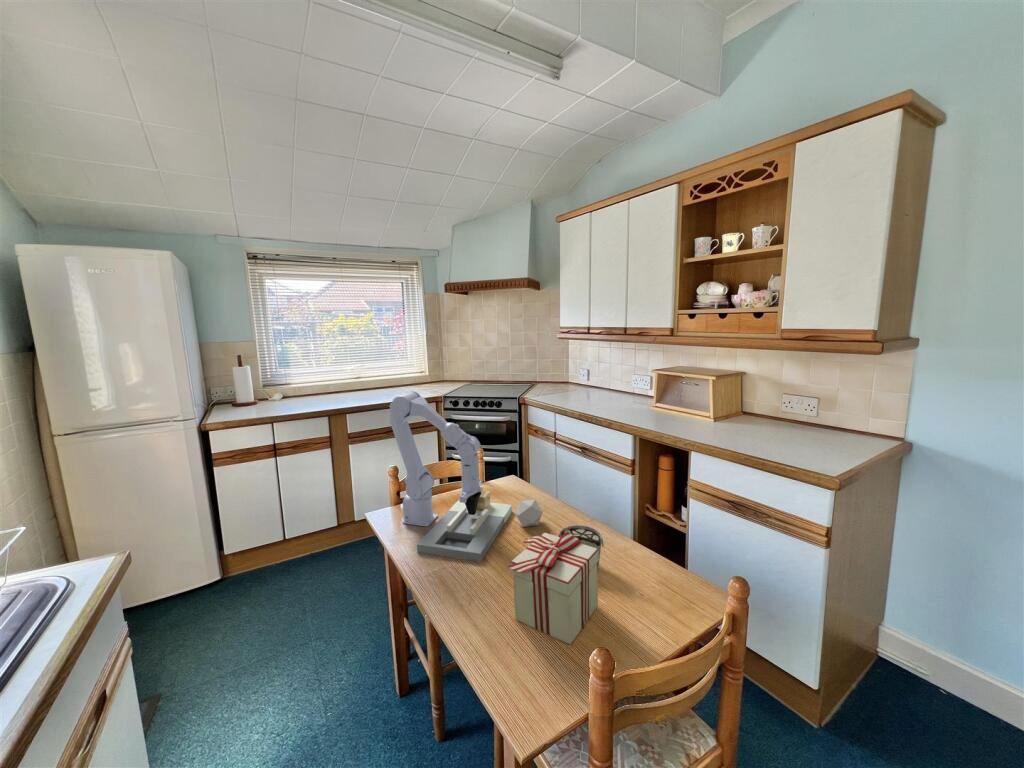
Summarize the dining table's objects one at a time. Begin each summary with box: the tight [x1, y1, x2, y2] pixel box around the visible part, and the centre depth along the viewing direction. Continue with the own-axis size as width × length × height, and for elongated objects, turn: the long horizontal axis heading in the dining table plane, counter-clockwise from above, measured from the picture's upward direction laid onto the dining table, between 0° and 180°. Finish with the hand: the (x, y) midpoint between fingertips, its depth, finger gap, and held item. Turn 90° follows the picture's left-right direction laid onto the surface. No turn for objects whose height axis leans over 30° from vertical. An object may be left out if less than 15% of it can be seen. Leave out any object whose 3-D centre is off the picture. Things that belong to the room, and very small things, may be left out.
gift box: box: [506, 532, 600, 645], centre depth 96 cm, size 17×18×17 cm
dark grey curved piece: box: [558, 524, 605, 575], centre depth 115 cm, size 12×6×10 cm, turn 65°
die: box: [515, 499, 543, 528], centre depth 138 cm, size 8×9×10 cm
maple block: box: [477, 490, 491, 511], centre depth 146 cm, size 5×5×5 cm
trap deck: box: [416, 499, 513, 563], centre depth 136 cm, size 20×31×4 cm, turn 163°
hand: (472, 513), depth 139 cm, fingers closed
